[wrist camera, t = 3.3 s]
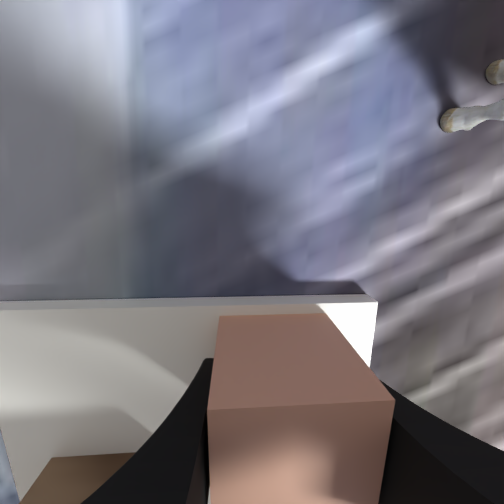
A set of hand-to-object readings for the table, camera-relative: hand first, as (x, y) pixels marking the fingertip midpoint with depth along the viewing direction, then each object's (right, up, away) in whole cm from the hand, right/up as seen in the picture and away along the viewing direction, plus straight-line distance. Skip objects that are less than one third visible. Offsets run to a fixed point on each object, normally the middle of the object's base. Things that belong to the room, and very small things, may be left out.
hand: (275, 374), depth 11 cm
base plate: (-4, -4, +2) cm, 6 cm away
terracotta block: (0, 0, +1) cm, 1 cm away
